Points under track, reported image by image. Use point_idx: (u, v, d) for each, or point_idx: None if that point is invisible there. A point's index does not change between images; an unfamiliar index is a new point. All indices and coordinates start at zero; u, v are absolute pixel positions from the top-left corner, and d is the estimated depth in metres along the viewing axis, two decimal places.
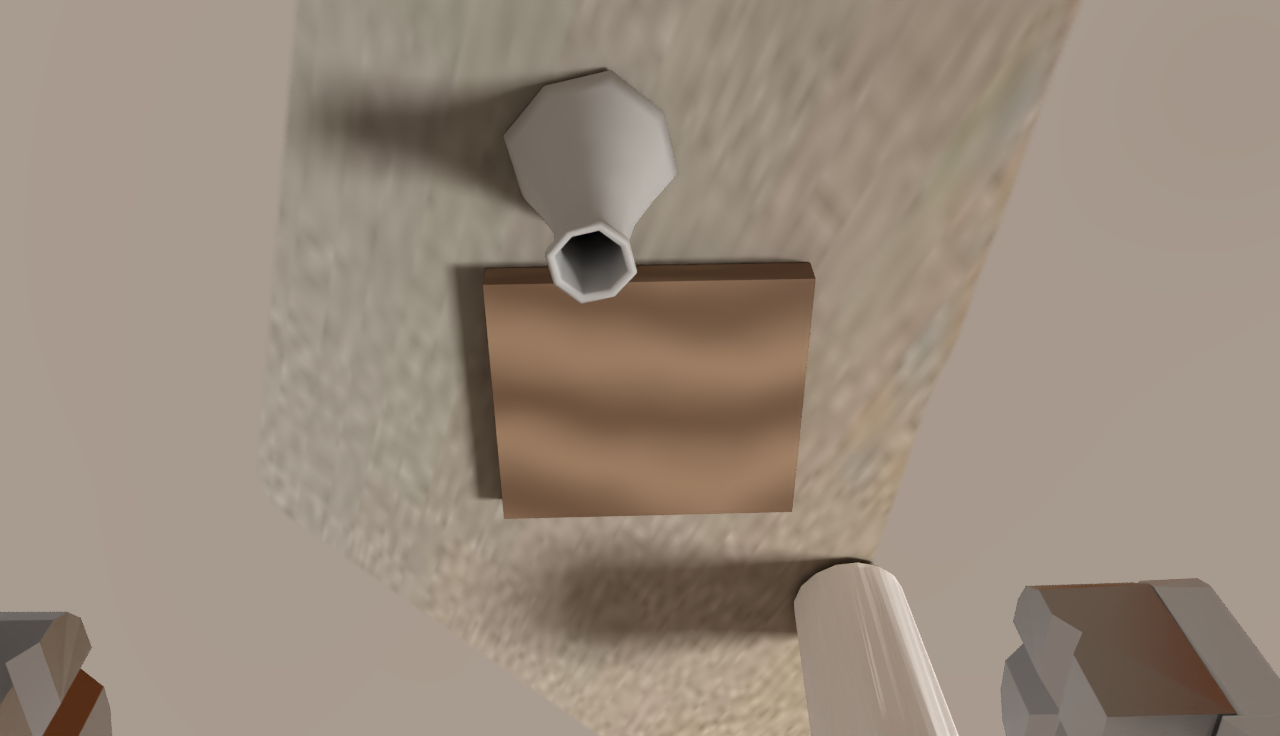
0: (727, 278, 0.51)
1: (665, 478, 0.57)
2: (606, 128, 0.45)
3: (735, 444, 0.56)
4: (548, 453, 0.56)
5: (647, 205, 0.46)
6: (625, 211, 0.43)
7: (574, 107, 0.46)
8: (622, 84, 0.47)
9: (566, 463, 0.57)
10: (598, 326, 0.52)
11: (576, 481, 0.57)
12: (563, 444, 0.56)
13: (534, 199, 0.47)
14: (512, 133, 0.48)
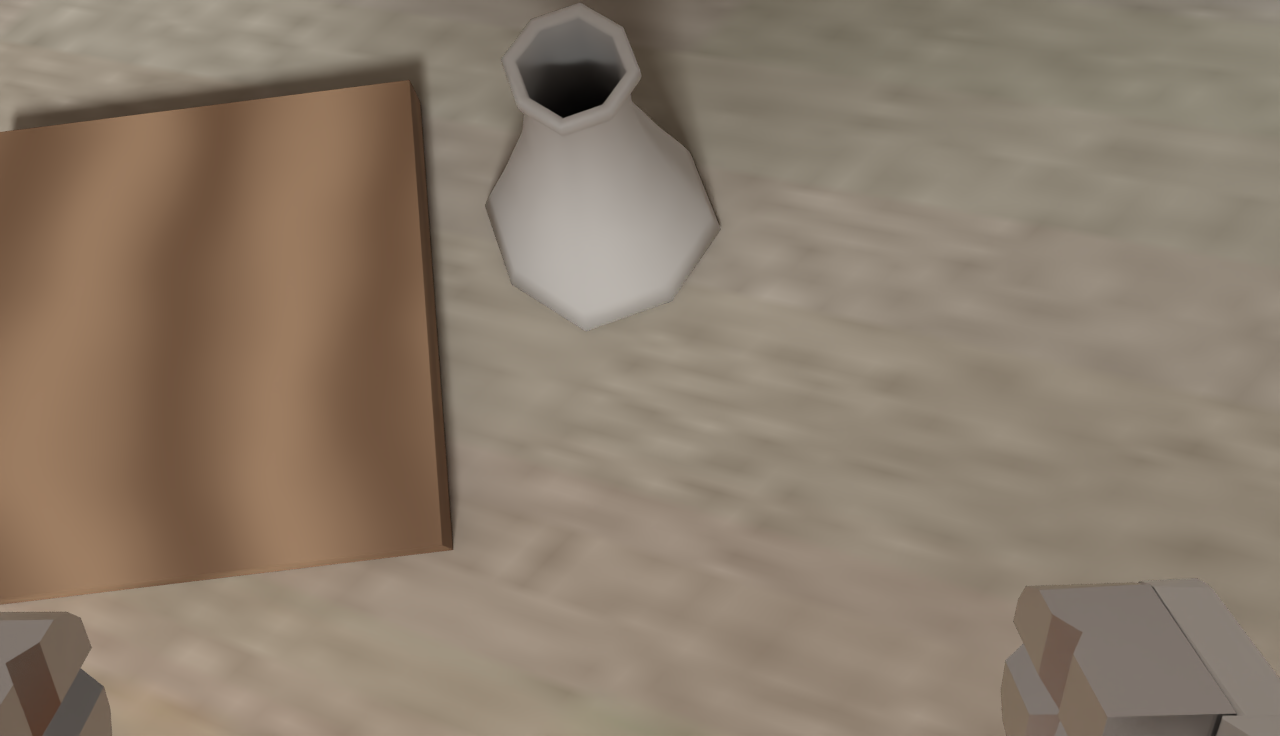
0: (434, 413, 0.34)
1: (52, 373, 0.35)
2: (680, 188, 0.33)
3: (120, 476, 0.34)
4: (111, 189, 0.36)
5: (582, 240, 0.32)
6: (608, 166, 0.30)
7: (684, 167, 0.35)
8: (705, 242, 0.36)
9: (90, 216, 0.36)
10: (346, 237, 0.35)
11: (53, 234, 0.36)
12: (128, 208, 0.36)
13: None
14: None
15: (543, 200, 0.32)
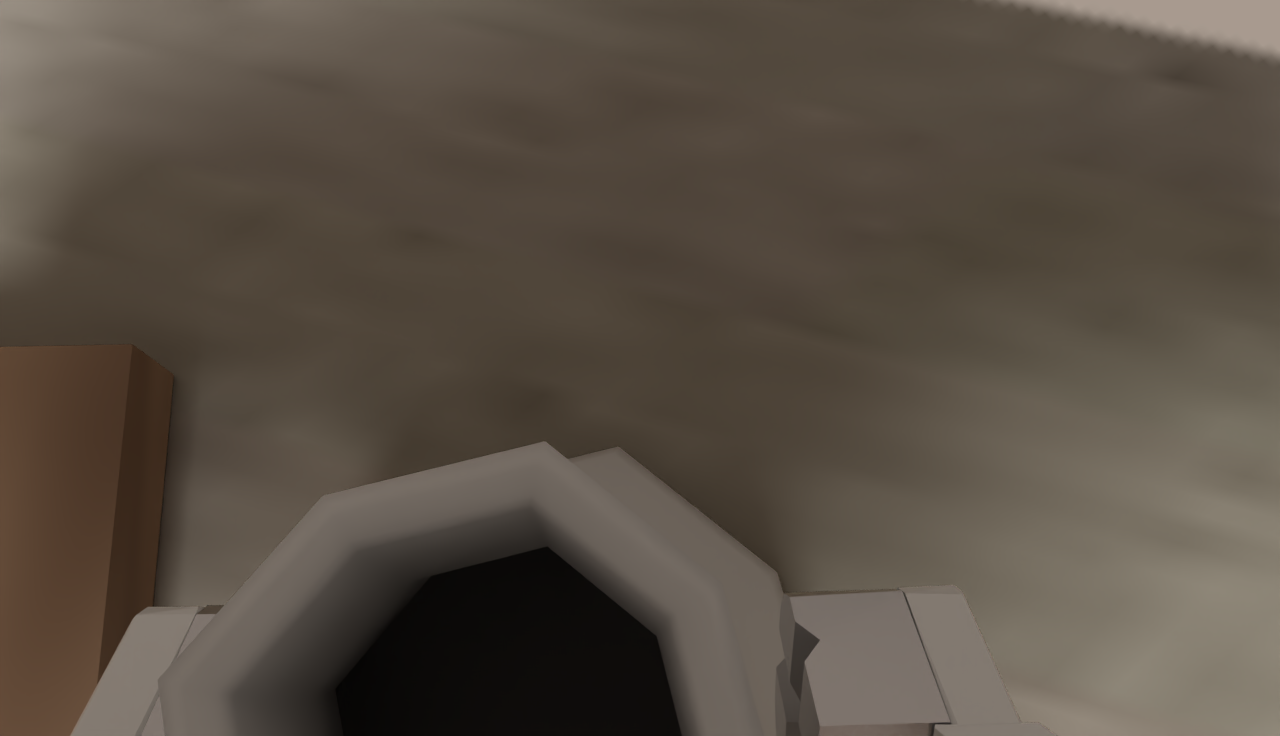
0: None
1: None
2: None
3: None
4: None
5: None
6: None
7: (774, 661, 0.14)
8: None
9: None
10: None
11: None
12: None
13: None
14: (640, 469, 0.16)
15: None
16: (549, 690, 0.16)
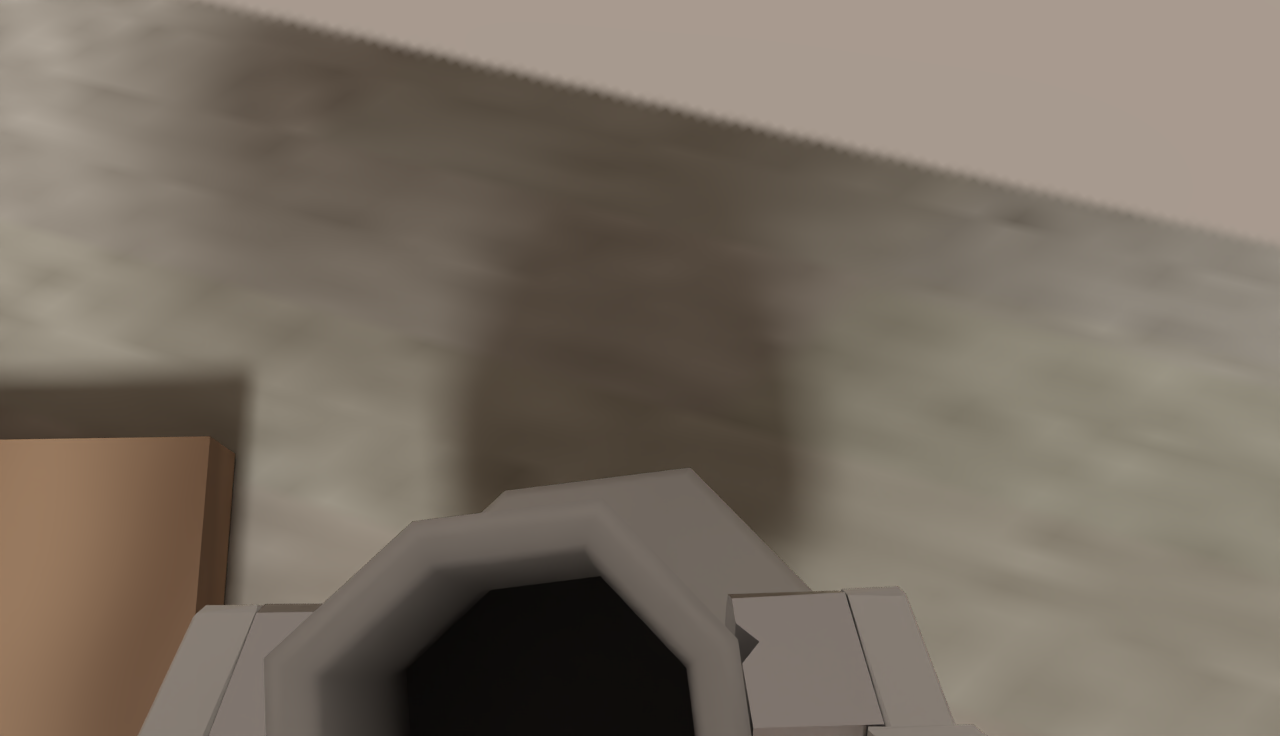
0: None
1: None
2: None
3: None
4: None
5: None
6: None
7: None
8: None
9: None
10: None
11: None
12: None
13: None
14: (707, 492, 0.17)
15: None
16: (601, 686, 0.17)
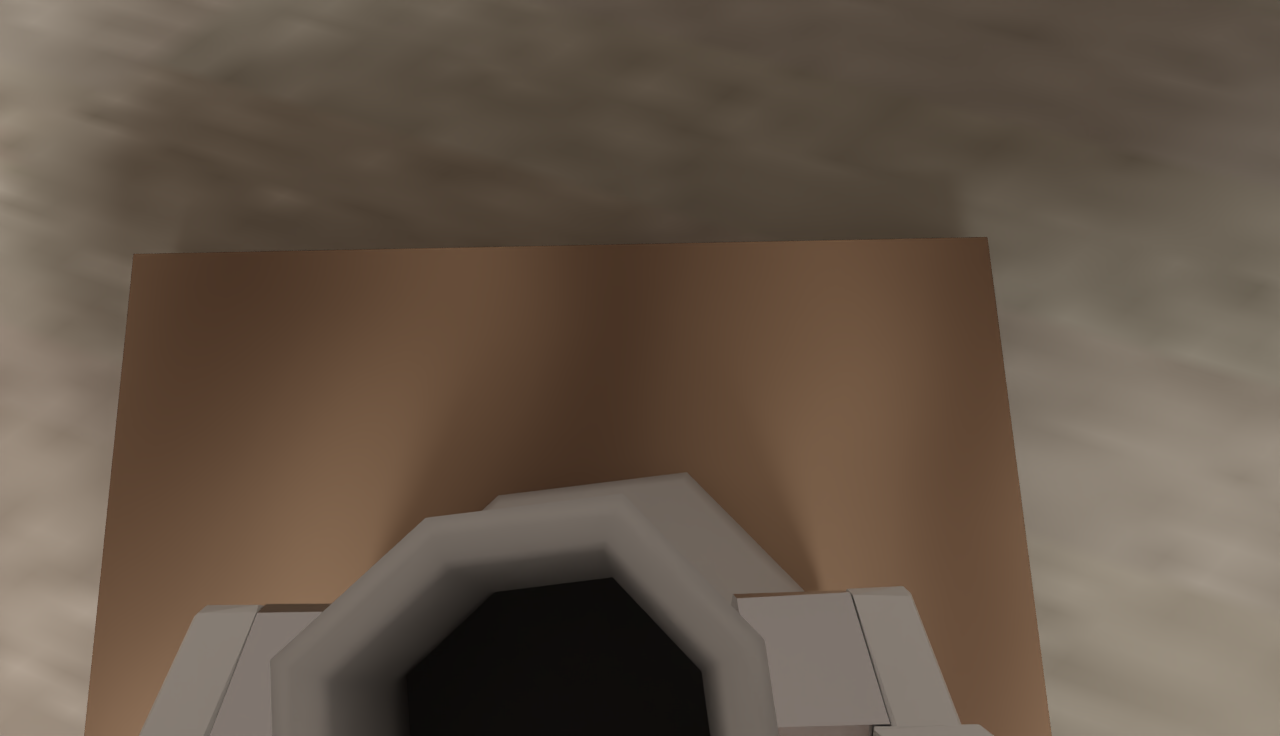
0: None
1: None
2: None
3: None
4: (392, 396, 0.18)
5: None
6: None
7: None
8: None
9: (348, 451, 0.17)
10: (877, 550, 0.17)
11: (268, 482, 0.17)
12: (426, 441, 0.18)
13: None
14: (705, 497, 0.16)
15: None
16: (596, 694, 0.16)
